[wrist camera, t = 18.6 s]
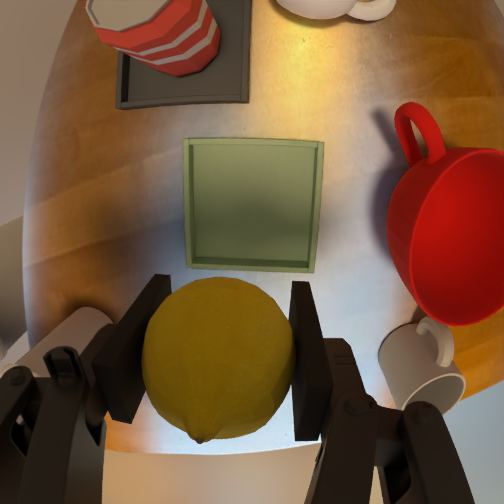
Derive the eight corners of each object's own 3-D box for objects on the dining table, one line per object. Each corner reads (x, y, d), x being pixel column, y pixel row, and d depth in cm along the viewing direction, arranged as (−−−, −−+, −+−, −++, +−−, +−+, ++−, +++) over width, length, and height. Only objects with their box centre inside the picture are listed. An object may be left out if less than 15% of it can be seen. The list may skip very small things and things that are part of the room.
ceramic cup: (422, 79, 22) (487, 62, 12) (489, 228, 26) (549, 263, 17) (310, 150, 25) (336, 157, 15) (398, 296, 29) (440, 356, 20)
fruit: (214, 362, 16) (187, 493, 9) (150, 281, 14) (69, 401, 7) (309, 320, 15) (334, 461, 7) (250, 223, 13) (229, 339, 6)
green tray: (191, 260, 29) (186, 268, 27) (188, 138, 25) (182, 138, 23) (311, 264, 28) (314, 273, 27) (320, 141, 24) (324, 142, 23)
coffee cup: (87, 279, 30) (2, 363, 16) (147, 341, 32) (94, 446, 18) (51, 319, 32) (-17, 394, 18) (104, 371, 35) (55, 459, 21)
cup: (369, 371, 33) (389, 428, 24) (394, 297, 29) (430, 350, 21) (420, 369, 33) (446, 420, 24) (448, 299, 29) (489, 346, 21)
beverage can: (225, 13, 20) (197, -61, 9) (215, 80, 23) (174, 37, 11) (157, 14, 20) (94, -44, 9) (146, 78, 23) (68, 48, 11)
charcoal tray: (124, 110, 24) (115, 108, 22) (132, 4, 20) (124, -3, 18) (248, 103, 24) (247, 100, 22) (251, -9, 20) (250, -18, 18)
